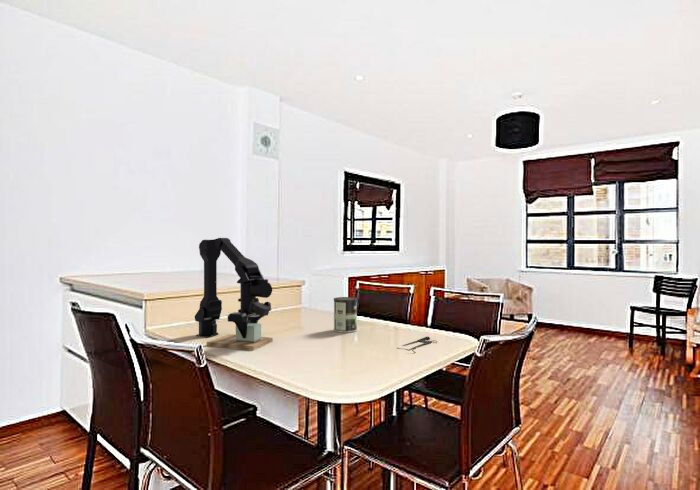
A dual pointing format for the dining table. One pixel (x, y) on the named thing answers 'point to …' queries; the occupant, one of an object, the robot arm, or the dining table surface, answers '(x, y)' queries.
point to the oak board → (238, 342)
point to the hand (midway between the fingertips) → (248, 336)
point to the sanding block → (250, 333)
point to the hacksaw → (418, 345)
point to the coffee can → (345, 314)
